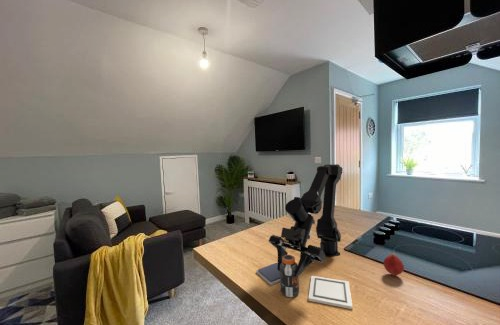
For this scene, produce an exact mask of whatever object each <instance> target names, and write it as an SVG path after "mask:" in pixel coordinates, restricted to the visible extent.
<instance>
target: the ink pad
mask: <svg viewBox="0 0 500 325" xmlns="http://www.w3.org/2000/svg"><path fill="white" fill-rule="evenodd" d="M277 266H278V262H275V263H272V264H270V265H267V266H264V267H260V268H259V269H257V270H256V274H257V275H259V276H260V277H261V278H262V279H263V280H264V281H265V282H266V283H267V284H269V285H270V286H273V285H275V284H278V283H280V271H278V270H277Z"/></svg>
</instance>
